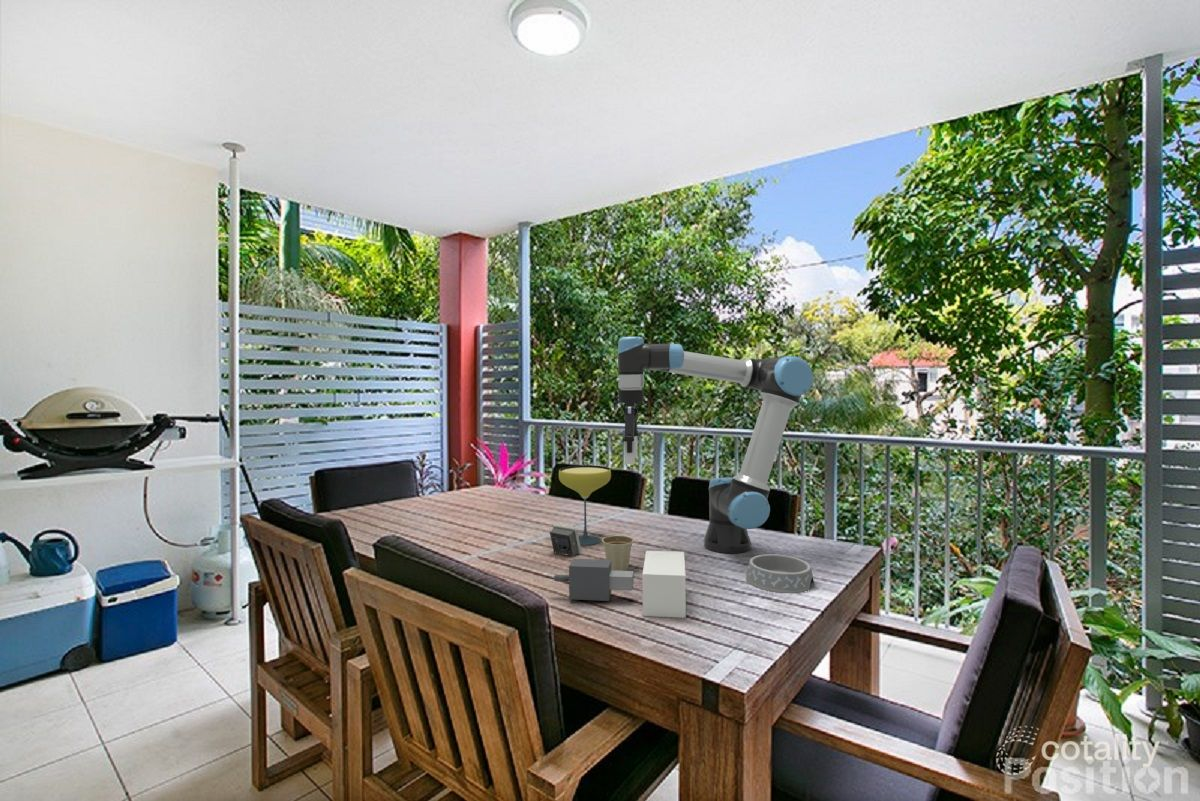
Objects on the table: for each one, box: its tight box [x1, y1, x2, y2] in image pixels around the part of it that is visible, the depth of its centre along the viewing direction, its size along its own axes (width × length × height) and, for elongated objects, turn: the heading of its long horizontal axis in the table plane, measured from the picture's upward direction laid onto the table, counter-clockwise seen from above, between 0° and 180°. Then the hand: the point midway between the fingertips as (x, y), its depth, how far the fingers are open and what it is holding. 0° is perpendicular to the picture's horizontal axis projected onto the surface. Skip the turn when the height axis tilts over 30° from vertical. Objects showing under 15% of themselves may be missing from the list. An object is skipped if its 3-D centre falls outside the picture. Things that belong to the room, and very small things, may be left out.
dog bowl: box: [745, 553, 815, 594], centre depth 152 cm, size 17×18×5 cm
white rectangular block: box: [642, 550, 687, 619], centre depth 139 cm, size 10×18×10 cm, turn 173°
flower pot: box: [601, 535, 635, 571], centre depth 163 cm, size 9×9×9 cm
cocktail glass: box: [558, 464, 612, 546], centre depth 191 cm, size 18×18×25 cm
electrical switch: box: [549, 524, 582, 557], centre depth 177 cm, size 9×5×9 cm, turn 57°
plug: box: [553, 558, 634, 602], centre depth 141 cm, size 20×6×8 cm, turn 83°
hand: (631, 460), depth 165 cm, fingers open, 13 cm apart
